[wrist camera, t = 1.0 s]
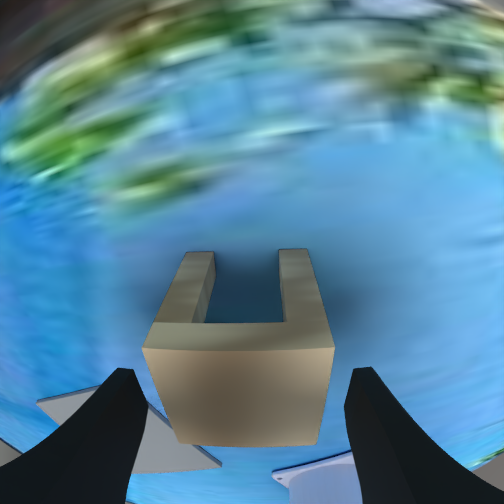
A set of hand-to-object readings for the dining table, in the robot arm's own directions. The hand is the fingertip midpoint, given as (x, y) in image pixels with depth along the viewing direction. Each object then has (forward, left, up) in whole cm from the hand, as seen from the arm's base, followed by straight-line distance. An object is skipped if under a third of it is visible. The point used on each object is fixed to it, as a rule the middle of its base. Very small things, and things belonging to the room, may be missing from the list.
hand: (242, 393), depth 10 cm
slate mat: (-8, +16, -6) cm, 19 cm away
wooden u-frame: (0, 0, -6) cm, 6 cm away
